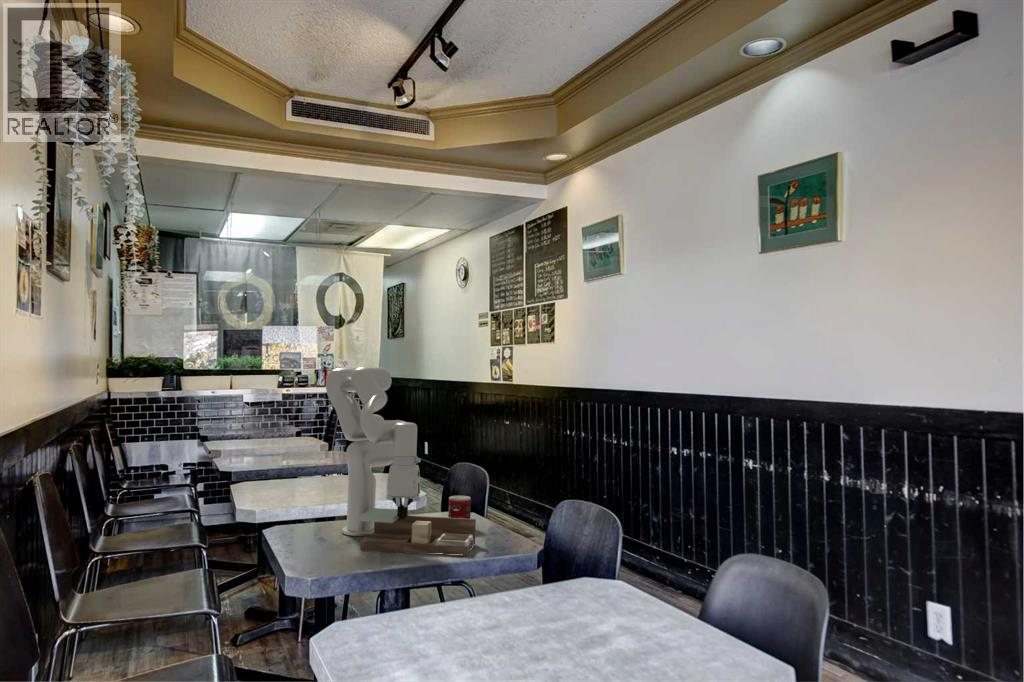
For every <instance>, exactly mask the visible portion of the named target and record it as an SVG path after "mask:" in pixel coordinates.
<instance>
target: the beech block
mask: <svg viewBox="0 0 1024 682" xmlns="http://www.w3.org/2000/svg"><path fill="white" fill-rule="evenodd" d="M412 543H421V544H431V522H430V521H415V522H414V523H413V524H412Z"/></svg>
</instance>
